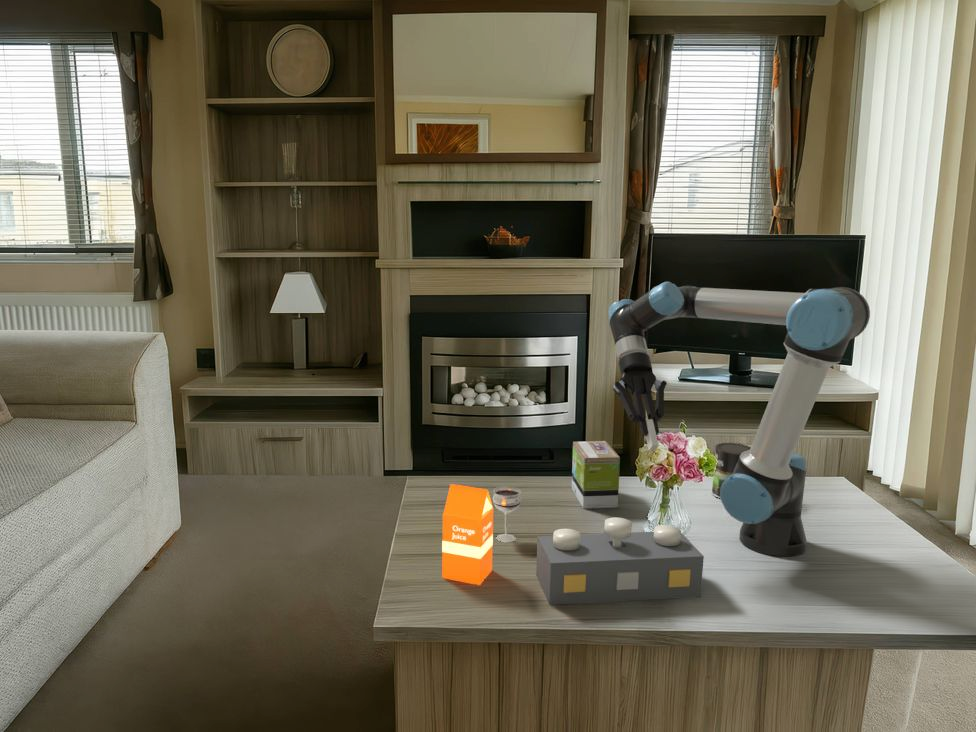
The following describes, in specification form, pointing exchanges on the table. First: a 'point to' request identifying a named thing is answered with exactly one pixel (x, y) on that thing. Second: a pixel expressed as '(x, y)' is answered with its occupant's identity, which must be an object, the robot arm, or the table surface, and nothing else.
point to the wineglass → (506, 506)
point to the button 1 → (566, 539)
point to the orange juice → (467, 535)
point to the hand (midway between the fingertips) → (653, 447)
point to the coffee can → (726, 463)
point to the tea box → (595, 474)
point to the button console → (618, 569)
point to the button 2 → (667, 535)
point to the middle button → (617, 529)
